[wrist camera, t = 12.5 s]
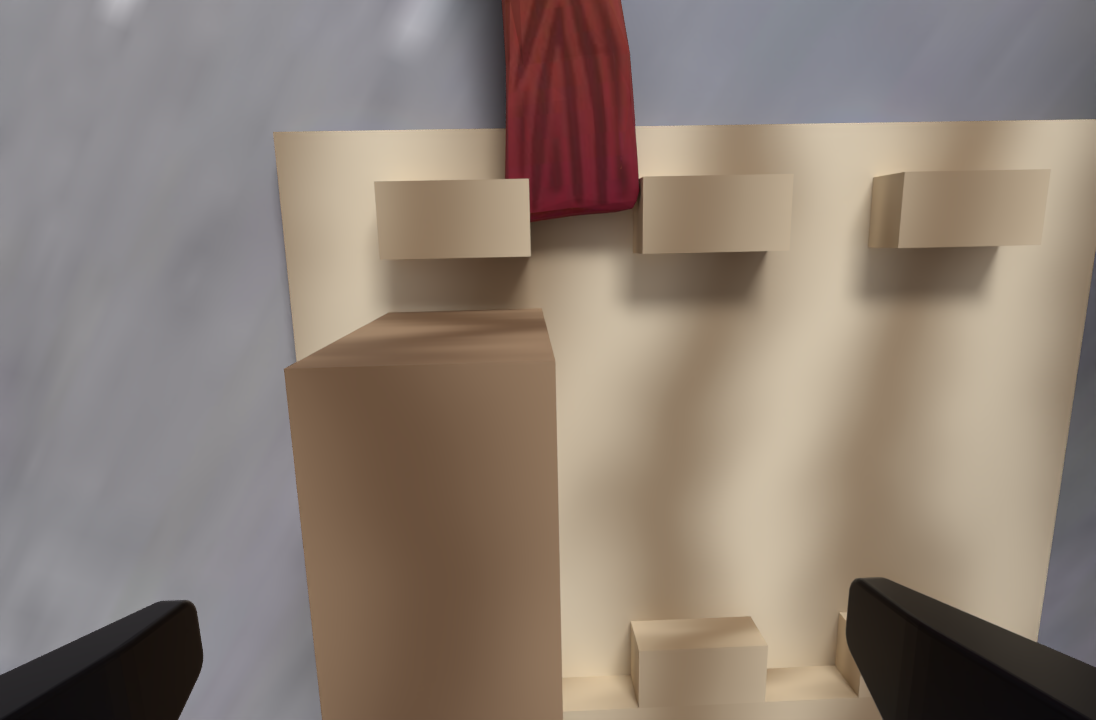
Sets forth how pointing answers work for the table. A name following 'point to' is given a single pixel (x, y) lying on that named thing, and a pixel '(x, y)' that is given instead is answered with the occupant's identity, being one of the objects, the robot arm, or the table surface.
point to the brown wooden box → (432, 516)
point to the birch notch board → (750, 375)
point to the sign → (570, 106)
